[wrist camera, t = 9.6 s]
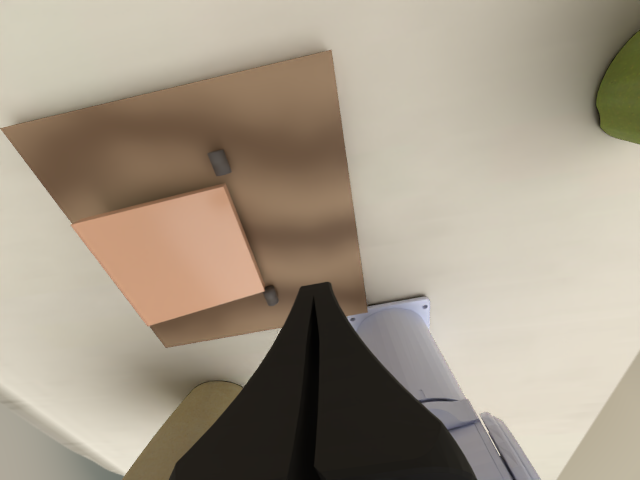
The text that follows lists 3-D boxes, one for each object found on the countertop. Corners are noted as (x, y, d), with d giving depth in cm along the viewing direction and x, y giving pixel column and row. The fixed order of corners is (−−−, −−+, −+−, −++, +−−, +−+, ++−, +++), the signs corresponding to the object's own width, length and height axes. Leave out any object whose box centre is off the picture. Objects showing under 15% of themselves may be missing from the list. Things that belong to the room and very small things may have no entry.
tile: (264, 291, 19) (147, 326, 18) (264, 282, 20) (153, 315, 19) (223, 186, 15) (70, 224, 14) (225, 182, 16) (83, 217, 15)
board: (365, 304, 24) (370, 320, 22) (170, 339, 25) (160, 356, 23) (329, 53, 14) (333, 45, 12) (17, 127, 15) (-20, 129, 14)
